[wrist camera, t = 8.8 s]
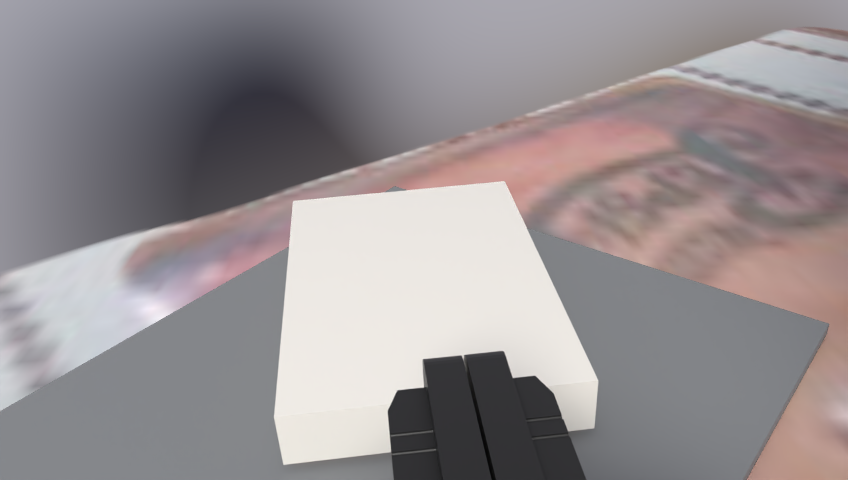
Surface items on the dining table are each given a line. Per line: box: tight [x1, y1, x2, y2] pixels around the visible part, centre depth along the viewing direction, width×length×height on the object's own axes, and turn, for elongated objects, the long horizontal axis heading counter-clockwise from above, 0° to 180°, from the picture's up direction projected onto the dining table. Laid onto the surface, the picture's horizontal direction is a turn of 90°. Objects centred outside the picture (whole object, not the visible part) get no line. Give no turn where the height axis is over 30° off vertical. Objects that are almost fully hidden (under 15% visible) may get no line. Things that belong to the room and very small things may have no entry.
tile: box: [274, 181, 598, 465], centre depth 30 cm, size 2×10×14 cm
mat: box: [0, 186, 829, 480], centre depth 27 cm, size 24×22×1 cm
